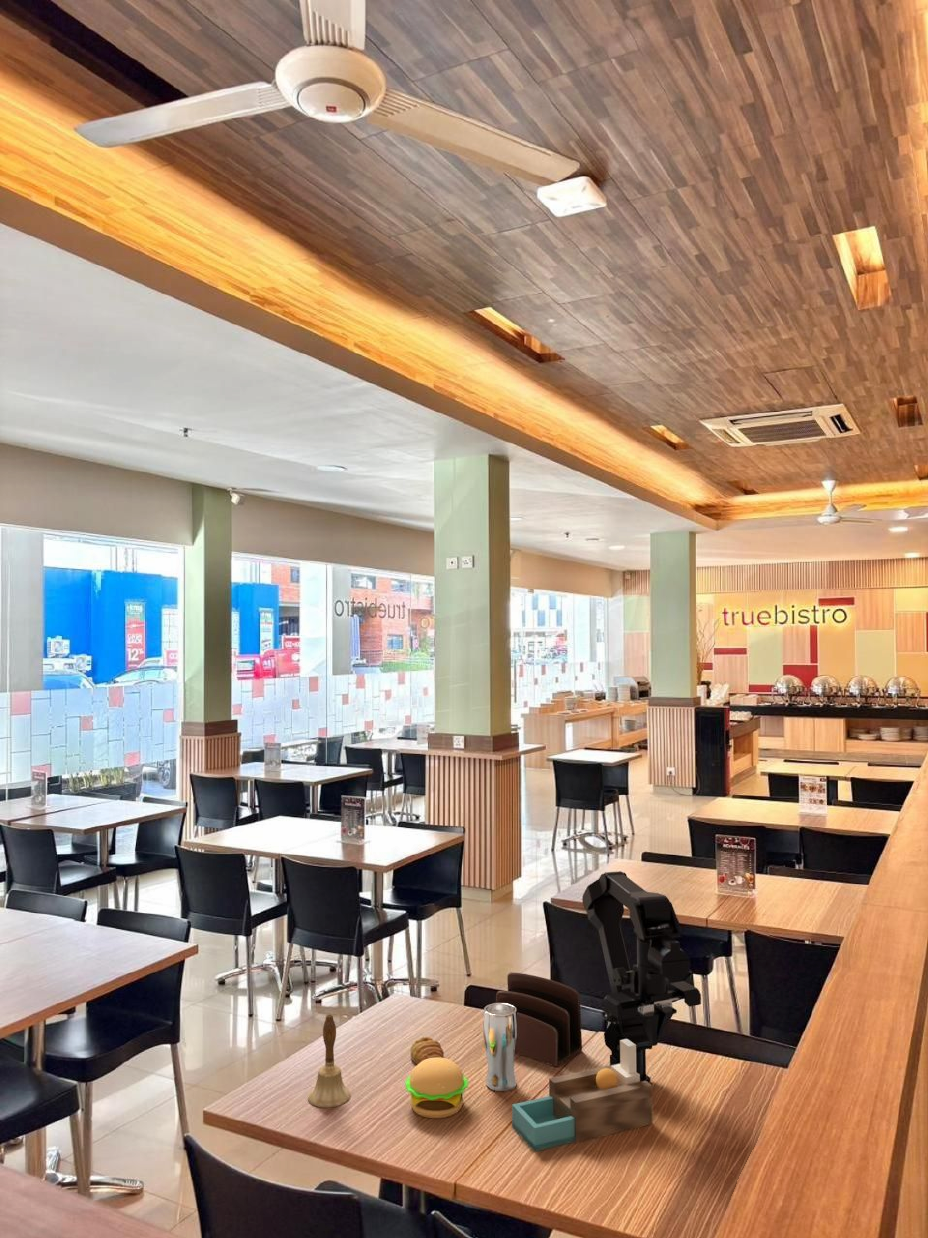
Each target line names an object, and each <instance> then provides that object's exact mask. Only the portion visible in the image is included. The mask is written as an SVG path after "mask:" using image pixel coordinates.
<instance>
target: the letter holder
mask: <svg viewBox="0 0 928 1238" xmlns="http://www.w3.org/2000/svg"><path fill="white" fill-rule="evenodd" d="M506 979H507V990H497V992H496V993H495V994H496V995H495V1003H507V1004H511V1005H513V1006H515V1007H516V1009H517V1022H518V1039H517V1047H516V1055H520V1056H523V1057H526V1058H529V1059H532V1060H534V1061H538V1062H541V1063H544V1064H546V1065H550V1066H552V1067H555V1068H559V1067H560V1066H561V1065H563V1064H565V1063H566V1062H568V1061H569V1060H571V1059H573V1058H574V1057H576V1056H577V1055H579V1054H580V1053H582V1051H583V1039H582V1016H581V1015H582V1014H581V996H580V993H579V991H578V990H577V989H575V988H573V987H571V986H568V985H566V984H564V983H561V982H558V981H555V980H552V979H550V978H549V979H548V978H546V977H545V978H544V977H542V976H536V975H534V974H528V973H527V974H526V973H523V972H522V973H521V972H509V973H508V974H507V978H506Z"/></svg>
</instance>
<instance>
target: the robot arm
mask: <svg viewBox="0 0 928 1238" xmlns="http://www.w3.org/2000/svg"><path fill="white" fill-rule="evenodd" d="M581 900H582V905H583V908H584V910H585V911H586V915H587V919H588V920H589V922H590V923H591V924H592V925H593V926H594V928H595V929H596V930H597V931H598V935H599V939H600V944H601V948H602V952H603V958H604V962H605V966H606V971H607V975H608V980H609V981H608V982H609V985H610V991H611V993H610V994H606V995H605V997H604V999H603V1010H604V1011H606V1012H607V1013H608V1014H609V1018H608V1019H609V1024H608V1026H607V1028H606V1029H605V1031H604V1033H603V1039H604V1044H605V1045H606V1047H607V1048H608V1049H609V1051H611V1053H610V1055H609V1065H613V1064H618V1063H620V1040H623V1039H628V1040H630V1041H631V1042H633V1043H634V1044H635V1045H636V1072H637V1073H638V1074H640V1082H641V1081H647V1082H648V1083H649V1082H650V1081H651V1077H650V1076H648V1074H647V1066H646V1065H647V1058H646V1055H647V1053H646V1050H653V1047H655V1046H657V1045H658V1044H659V1041H660V1039H661V1038H662V1035H663V1033H664V1031H665V1029H666V1027H667V1026H668V1024H669V1022H670V1021H671V1019H672V1017H673V1016H674V1015H675V1014H677V1013H678V1010H677V1009H676V1008H674V1007H673V1002H674V1001H679V1000H680V1001H681V1000H684V1001H683V1002H684V1003H685V1004H686V1005H687V1006H688V1007H689V1008H690V1007H694V1006H699V1005H701V1004H702V994H701V992H700V990H699V989H698V988H697V987H696V986H694V985H692V984H690V983H689V982H686V981H684V979H685V978H686V977H687V976H688V974H689V973H690V969H691V965H692V964H691V960H690V957H689V955H688V953H687V952H686V951H684V950H683V949H682V948H681V943H680V942H679V941H678V940H675V939H674V938H681V937H682V933H681V930H680V929H681V927H682V926H681V924H680V921H679V919H678V917H677V914H676V912H675V909H674V907H673V904H672V902H671V901H670V898H668V896H666V895H665V894H661V893H658V892H651V891H647V890H645V889H644V888H643V887H641V886H640V885H638V884H637V883H636V882H634V881H633V879H631V878H629V877H628V876H627V874H626V872H625V871H624V872H623V871H609V872H608V871H607V872H604V873H602V874H600V876H599V878H598V879H596V880H595V881H592V883H590V884H588V885H587V886H586V888H585V890H584V891H583V893H582V899H581ZM625 908H627V909H628V910H629V919H630V920H631V922H632V925H633V926H634V928H633V932H634V933H635V934H636V964H633V965H632V970H631V966H630V961H629V957H628V954H627V953H628V952H627V949H626V945H625V941H624V937H623V933H622V927H621V923H622V919H623V916H624V913H625ZM660 927H661V928H660ZM668 980H669V981H671V983H669V981H668Z"/></svg>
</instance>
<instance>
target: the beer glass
mask: <svg viewBox="0 0 928 1238" xmlns="http://www.w3.org/2000/svg"><path fill="white" fill-rule="evenodd" d="M483 1010H484V1012H483V1030H482V1032H483V1044H484V1048H485V1049H484V1050H485V1055H486V1059H487V1075H486V1080H485V1084H487V1086H488V1087H489V1088H490V1089H489V1088H488V1087H487V1086H486V1087H487V1088H488V1089H489V1090H491V1089H492V1091H494V1090H495V1091H494V1092H499V1091H504V1092H508V1091H512V1090H513V1089H515V1088H516V1086H517V1080H516V1074H515V1058H516V1055H517V1053H516V1047H517V1039H518V1022H517V1009H516V1007H515V1006H513V1005H511V1004H507V1003H496V1002H494V1003H491V1004H487V1005H486V1006H485V1007H484V1008H483Z"/></svg>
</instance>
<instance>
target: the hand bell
mask: <svg viewBox="0 0 928 1238" xmlns="http://www.w3.org/2000/svg"><path fill="white" fill-rule="evenodd" d="M336 1038H337V1026H336V1022H335V1020H334V1016H333V1014H332V1013H331V1014H327V1015H326V1016H325V1021H324V1024H323V1027H322V1039H323V1043H324V1045H325V1059H324V1060H325V1062H324V1063H325V1064H324V1066H321V1067H319V1068H318V1071H317V1078H316V1083H315V1086H314V1088H313V1089H312V1090H311V1091H310V1092H309V1094H308V1096H307V1100H308V1102H309V1103H310V1104H311V1105H312V1106H314V1107H318V1108H322V1109H323V1108H327V1109H329V1108H336V1107H338V1106H339V1107H340V1106H342V1105H344V1104H346V1103H347V1102H348V1101H350V1099H351V1097H352V1094H351V1092H350V1090H349V1088H347V1087H346V1086H345V1084H344V1081H343V1077H342V1076H343V1075H342V1070H341V1067H340V1066H339V1065H336V1064H335V1057H334V1056H335V1054H334V1051H335V1050H334V1049H335V1048H334V1047H335V1042H336Z"/></svg>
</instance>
